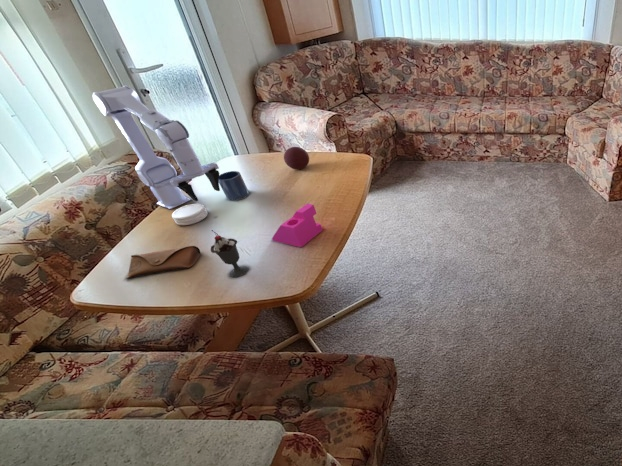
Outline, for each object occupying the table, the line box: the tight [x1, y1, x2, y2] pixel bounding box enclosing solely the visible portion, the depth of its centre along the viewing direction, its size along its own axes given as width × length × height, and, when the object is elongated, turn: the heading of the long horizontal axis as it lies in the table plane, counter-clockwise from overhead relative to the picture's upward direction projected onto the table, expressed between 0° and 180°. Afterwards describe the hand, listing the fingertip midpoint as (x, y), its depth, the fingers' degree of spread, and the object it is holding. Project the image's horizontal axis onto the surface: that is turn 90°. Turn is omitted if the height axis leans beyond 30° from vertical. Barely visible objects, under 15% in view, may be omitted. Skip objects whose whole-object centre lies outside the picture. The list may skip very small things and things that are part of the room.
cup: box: [219, 170, 250, 202], centre depth 150 cm, size 8×8×9 cm
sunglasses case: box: [125, 245, 201, 280], centre depth 117 cm, size 18×7×7 cm, turn 107°
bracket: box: [271, 203, 324, 248], centre depth 126 cm, size 12×10×10 cm
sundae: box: [210, 229, 249, 278], centre depth 110 cm, size 7×7×15 cm
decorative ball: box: [283, 146, 310, 170], centre depth 168 cm, size 10×10×10 cm
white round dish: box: [171, 203, 209, 226], centre depth 138 cm, size 10×10×4 cm
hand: (206, 195), depth 132 cm, fingers open, 7 cm apart
